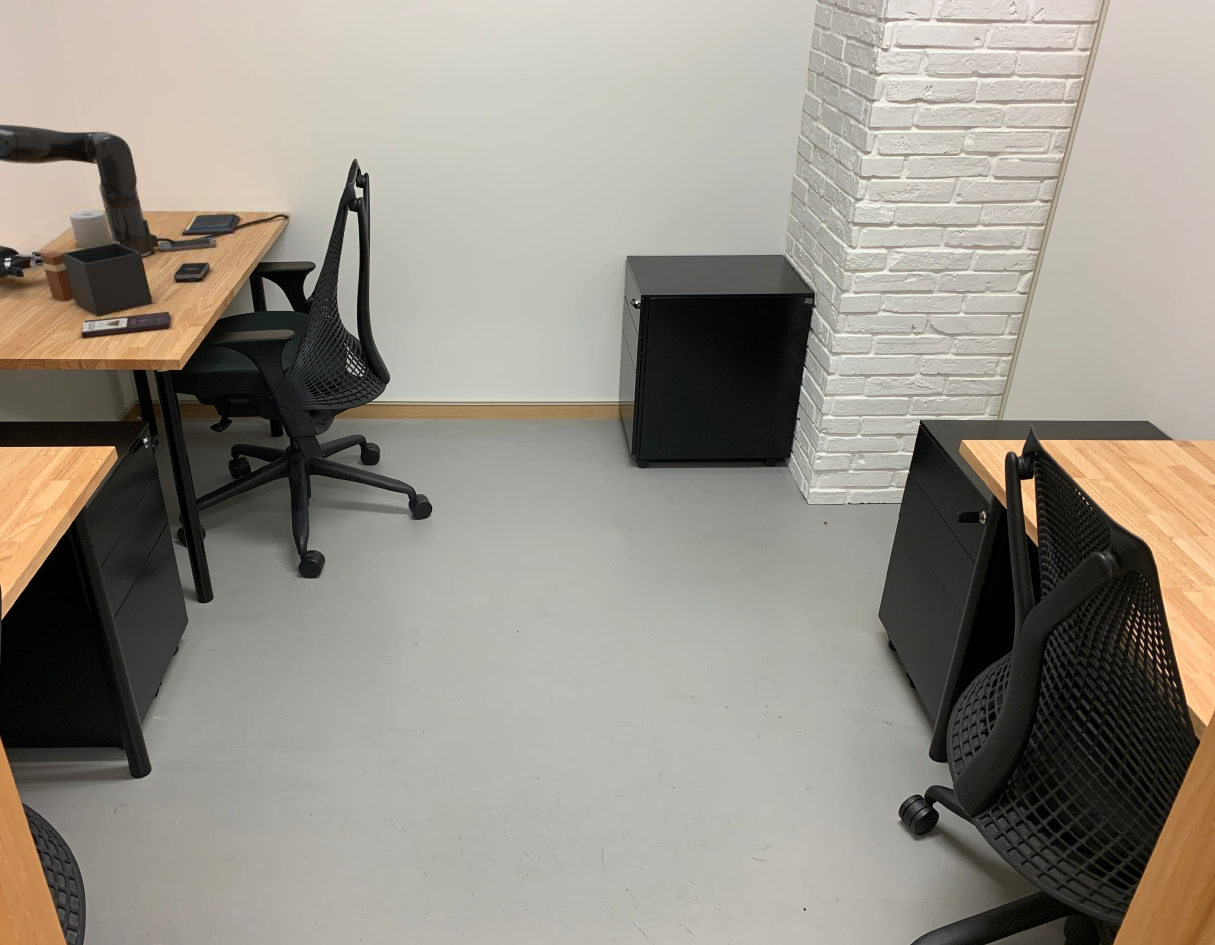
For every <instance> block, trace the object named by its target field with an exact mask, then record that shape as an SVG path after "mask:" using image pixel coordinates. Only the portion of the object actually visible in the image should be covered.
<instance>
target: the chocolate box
mask: <svg viewBox="0 0 1215 945" xmlns="http://www.w3.org/2000/svg"><path fill="white" fill-rule="evenodd" d="M62 253H63V252H58V251H49V252H46V253H44V254H42V255H40V256H41V259H42V263H43V267H42V268H43V270H44V272H45V276H46V279H47V282H48V286H49V290H50V293H51V296H52V299H55V300H59V301H65V302H66V301H69V300H72V299H74V295H73V292H72V288H71V285H70V281H69V278H68V274H67V271H66V267H65V264H64V260H63V256H62Z"/></svg>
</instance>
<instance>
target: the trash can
mask: <svg viewBox="0 0 1215 945" xmlns="http://www.w3.org/2000/svg"><path fill="white" fill-rule="evenodd" d="M61 253H62V256H63V260H64V264H65V267H66V271H67V274H68V278H69V281H70V285H71V288H72V292H73V295H74V298H73V299H74V303H75V304H76V305H78V306H79V307H81V308H83V309H85V310H87V311H88V312H90V313H92V314H94V315H95V316H98V317H101V316H104V315H107V314H108V315H109V314H112V313H117V312H121V311H125V310H130V309H134V308H138V307H142V306H146V305H151V304H154V303H153V298H152V294H151V290H150V286H149V282H148V277H147V273H146V270H145V264H144V261H143V257H142V256H141V253H140V252H137V251H135V250H133V249H130V248H128V247H126V246H123V245H121V244H119V243H113V244H112V243H111V244H108V245H102V246H97V247H92V248H83V249H76V250H71V251H67V252H61Z"/></svg>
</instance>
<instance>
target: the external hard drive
mask: <svg viewBox="0 0 1215 945" xmlns="http://www.w3.org/2000/svg"><path fill="white" fill-rule="evenodd" d="M210 269H211V266H210V263H209V262H183V263H182V264H181V265H180V266H179V267H178V268H177V270H176V271H175V272H174V274H173V279H174V281H175V282H176V283H177V282H182V283H183V282H200V281H202V280H203V279H204V277H206V275H207V274H208V272H209V270H210Z"/></svg>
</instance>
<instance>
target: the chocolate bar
mask: <svg viewBox="0 0 1215 945" xmlns="http://www.w3.org/2000/svg"><path fill="white" fill-rule="evenodd" d="M162 329H163V330H164V329H170V311H162V312H153V313H144V314H143V313H142V314H134V315H126V316H125V315H124V316H116V317H115V316H114V317H105V318H97V319H89V320H88V319H87V320H84V322H83V327H82V330H81V336H82V338H83V339H84V338H92V337H99V336H100V337H101V336H108V335H109V336H110V335H117V334H118V335H119V334H127V333H137V332H144V331H145V332H146V331H152V330H153V331H154V330H162Z"/></svg>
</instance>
